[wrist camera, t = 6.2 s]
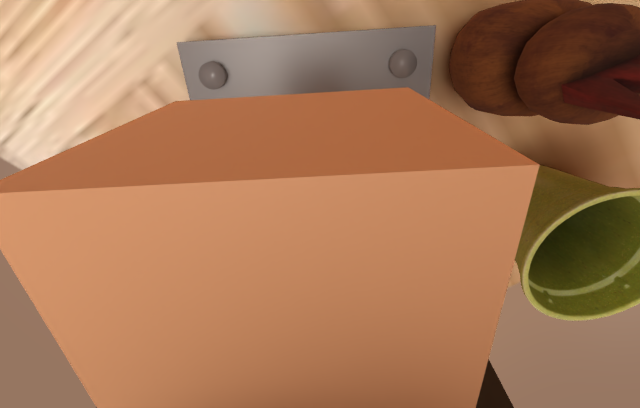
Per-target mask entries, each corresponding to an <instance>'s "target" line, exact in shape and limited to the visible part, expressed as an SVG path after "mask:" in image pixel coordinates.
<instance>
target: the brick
mask: <svg viewBox="0 0 640 408" xmlns="http://www.w3.org/2000/svg"><path fill="white" fill-rule="evenodd" d="M539 166H540V165H539V164H537V163H536V162H534V161H532V160H531V159H529V158H527V157H526V156H524V155H522V154H520V153H519V152H517V151H515V150H514V149H512V148H510V147H509V146H507V145H505V144H504V143H502V142H500V141H498V140H497V139H495V138H493V137H492V136H490V135H488V134H487V133H485V132H483V131H481V130H480V129H478V128H476V127H475V126H473V125H471V124H470V123H468V122H466V121H464V120H463V119H461V118H459V117H458V116H456V115H454V114H453V113H451V112H449V111H448V110H446V109H444V108H442V107H441V106H439V105H437V104H436V103H434V102H432V101H431V100H429V99H427V98H425V97H424V96H422V95H420V94H419V93H417V92H415V91H414V90H412V89H410V88H408V87H406V88H389V89H372V90H355V91H339V92H322V93H305V94H288V95H272V96H255V97H238V98H222V99H205V100H188V101H175V102H173V103H171V104H168V105H166V106H164V107H162V108H160V109H157V110H155V111H153V112H151V113H148V114H146V115H144V116H142V117H139V118H137V119H135V120H133V121H131V122H128V123H126V124H124V125H122V126H119V127H117V128H115V129H113V130H111V131H108V132H106V133H104V134H102V135H99V136H97V137H95V138H93V139H90V140H88V141H86V142H84V143H82V144H79V145H77V146H75V147H73V148H70V149H68V150H66V151H64V152H62V153H59V154H57V155H55V156H53V157H50V158H48V159H46V160H44V161H41V162H39V163H37V164H35V165H33V166H30V167H28V168H26V169H24V170H21V171H19V172H17V173H15V174H13V175H10V176H8V177H6V178H4V179H1V180H0V249H1V251H2V253H3V254H4V256H5V257H6V259H7V261H8V262H9V264H10V266H11V267H12V269H13V271H14V272H15V274H16V276H17V277H18V279H19V280H20V282H21V284H22V285H23V287H24V289H25V290H26V292H27V294H28V295H29V297H30V299H31V300H32V302H33V303H34V305H35V307H36V308H37V310H38V312H39V313H40V315H41V316H42V318H43V320H44V321H45V323H46V325H47V326H48V328H49V330H50V331H51V333H52V334H53V336H54V338H55V340H56V341H57V343H58V344H59V346H60V348H61V349H62V351H63V353H64V354H65V356H66V358H67V359H68V361H69V362H70V364H71V366H72V367H73V369H74V371H75V372H76V374H77V376H78V377H79V379H80V381H81V382H82V384H83V385H84V387H85V389H86V390H87V392H88V394H89V395H90V397H91V398H92V400H93V402H94V403H95V405H96V407H97V408H476V404H477V401H478V397H479V393H480V389H481V385H482V382H483V378H484V374H485V370H486V366H487V363H488V359H489V355H490V351H491V347H492V344H493V340H494V336H495V332H496V329H497V325H498V321H499V317H500V313H501V309H502V306H503V302H504V298H505V294H506V291H507V287H508V283H509V279H510V276H511V272H512V268H513V264H514V260H515V257H516V253H517V249H518V245H519V241H520V238H521V234H522V230H523V226H524V222H525V219H526V215H527V211H528V207H529V203H530V200H531V196H532V192H533V188H534V185H535V181H536V177H537V173H538V169H539Z"/></svg>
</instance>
